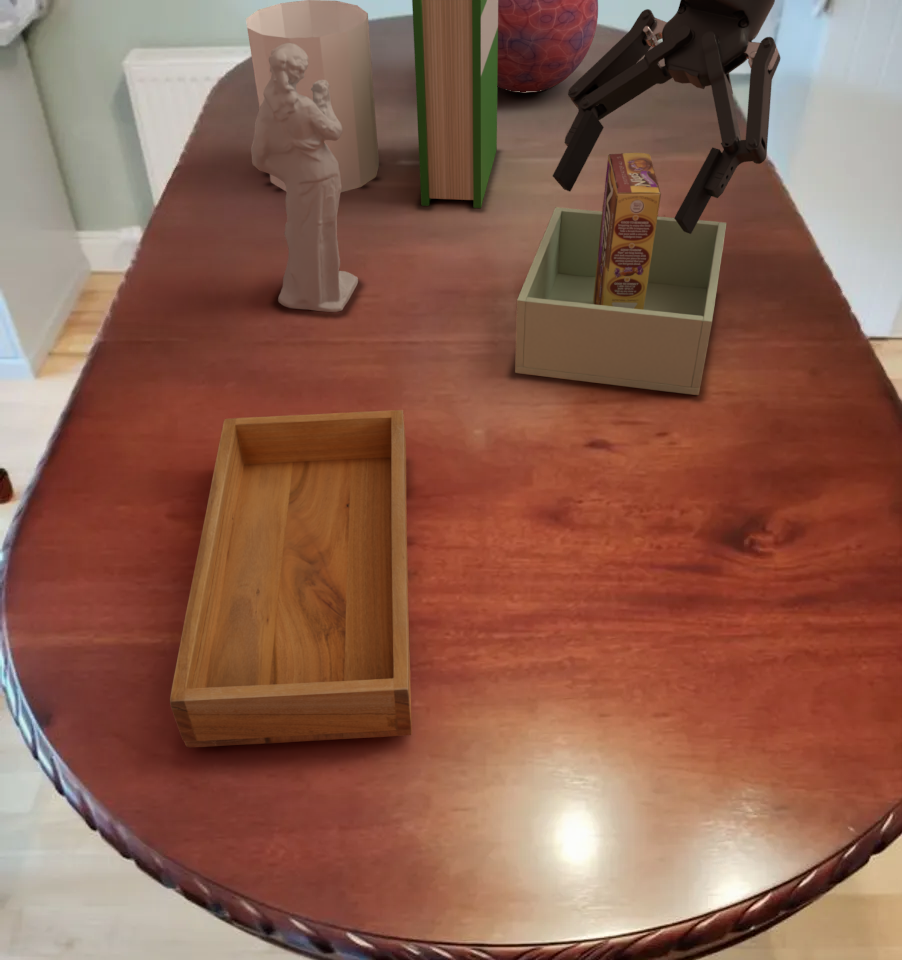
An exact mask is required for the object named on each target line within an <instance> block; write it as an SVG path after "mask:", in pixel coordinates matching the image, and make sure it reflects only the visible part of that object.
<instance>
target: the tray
mask: <svg viewBox="0 0 902 960" xmlns="http://www.w3.org/2000/svg"><path fill="white" fill-rule="evenodd" d="M404 413H405V412H404V410H403V409H398V410H397V409H396V410H376V411H375V410H373V411H353V412H352V411H351V412H333V413H314V414H313V413H312V414H291V415H273V416H251V417H233V418H224V420H223V424H222V428H221V432H220V438H219V443H218V449H217V453H216V459H215V463H214V469H213V474H212V479H211V482H210V483H211V484H210V489H209V495H208V500H207V505H206V511H205V515H204V521H203V526H202V529H201V530H202V531H201V534H200V540H199V545H198V551H197V556H196V561H195V566H194V571H193V576H192V582H191V586H190V591H189V596H188V601H187V606H186V611H185V616H184V622H183V625H182V626H183V627H182V632H181V637H180V643H179V648H178V654H177V658H176V664H175V669H174V674H173V679H172V684H171V690H170V696H169V697H170V698H169V703H170V709H171V711H172V714H173V718H174V720H175V723H176V726H177V728H178V731H179V734H180V737H181V740H182V742H184V745H185V747H186V748H208V747H222V746H240V745H241V746H242V745H261V744H279V743H295V742H296V743H297V742H298V743H299V742H312V741H313V742H314V741H315V742H316V741H331V740H347V739H363V738H364V739H365V738H368V739H369V738H384V737H402V736H411V735H412V734H413V721H412V691H411V690H412V689H411V688H412V687H411V657H410V656H411V654H410V653H411V652H410V616H409V614H410V611H409V609H410V607H409V565H408V563H409V561H408V560H409V559H408V525H407V524H408V518H407V517H408V514H407V513H408V511H407V510H408V509H407V508H408V507H407V441H406V440H407V439H406V428H405V416H404V415H405V414H404Z"/></svg>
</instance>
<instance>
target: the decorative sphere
mask: <svg viewBox="0 0 902 960" xmlns="http://www.w3.org/2000/svg"><path fill="white" fill-rule="evenodd" d="M598 20H599V0H498V68H497V86H498V87H497V88H499V87H500V88H499V89H502V88H503V89H502V90H504V89H507V90H511V91H520V92H526V91H539V92H541V91H540V90H543V91H546V90H549V89H551V88H553V87H555V86H558V85H559V84H561V83H562V82H563V81H565V80H566V79H567V78H568V77H570V76H571V75H572V74H573V73H574V72H575V71H576V70H577V69H578V67H579V66H580V65H581V64H582V62H583V61H584V59H585V58H586V56H587V55H588V53H589V51H590V48H591V46H592V43H593V41H594V38H595V34H596V31H597V25H598ZM548 88H549V89H548ZM545 89H546V90H545ZM507 90H506V91H507ZM511 91H510V92H511ZM515 93H516V94H518V93H517V92H515ZM535 93H536V92H534V93H533V94H535Z"/></svg>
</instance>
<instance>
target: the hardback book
mask: <svg viewBox="0 0 902 960" xmlns="http://www.w3.org/2000/svg"><path fill="white" fill-rule="evenodd" d="M411 5H412V29H413V50H414V52H413V54H414V72H415V73H414V74H415V93H416V94H415V95H416V97H415V98H416V117H417V118H416V120H417V138H418V139H417V140H418V141H417V142H418V159H419V160H418V162H419V163H418V164H419V165H418V166H419V181H420V182H419V184H420V185H419V186H420V187H419V188H420V204H421V206H422V207H423V206H425V207H429V206H430V203H431V201H432V199H438V200H461V201H463V200H464V201H472V203H473V205H472V206H473V209H481V208H482V206H483V202H484V199H485V195H486V191H487V187H488V184H489V180H490V176H491V173H492V168H493V166H494V161H495V158H496V154H497V149H498V87H497V68H498V0H411Z"/></svg>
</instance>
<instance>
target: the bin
mask: <svg viewBox="0 0 902 960" xmlns="http://www.w3.org/2000/svg"><path fill="white" fill-rule="evenodd" d="M601 219H602V210H592V209H581V208H580V209H579V208H571V207H570V208H569V207H557V206H555V207H554V210H553V213H552V215H551V216H550V220H549V222H548V224H547V227H546V229H545V232H544V234H543V236H542V239H541V240H540V244H539V246H538V249H537V251H536V253H535V256H534V258H533V260H532V263H531V265H530V267H529V270H528V272H527V275H526V277H525V279H524V282H523V285H522V288H521V289H520V292H519V294H518V297H517V299H516V317H515V318H516V319H515V321H516V322H515V353H514V355H515V357H514V358H515V359H514V373H515V374H522V375H530V376H537V377H546V378H554V379H561V380H570V381H579V382H587V383H594V384H601V385H602V384H603V385H611V386H618V387H627V388H636V389H644V390H651V391H659V392H668V393H675V394H676V393H677V394H684V395H692V396H699V395H700V390H701V386H702V379H703V373H704V368H705V363H706V358H707V352H708V347H709V341H710V335H711V329H712V325H713V317H714V313H715V304H716V300H717V299H716V297H717V291H718V285H719V278H720V270H721V266H722V265H721V264H722V257H723V250H724V244H725V236H726V229H727V222H723V221H713V220H704V219H703V220H702V219H699V220H698V222H697V224H696V226H695V228H694V229H693V231H692V233H691V234H689V233H686V232H684V231H683V230H682V228H681V227H680V225H679V224H678V223H677V221H676V220H675V217H669V216H659V215H658V217H657V223H656V229H655V236H654V242H653V249H652V256H651V262H650V269H649V276H648V283H647V289H646V296H645V302H644V308H643V310H642V309H632V308H623V307H614V306H604V305H595V304H594V302H593V297H594V287H595V277H596V267H597V257H598V248H599V238H600V228H601Z"/></svg>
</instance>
